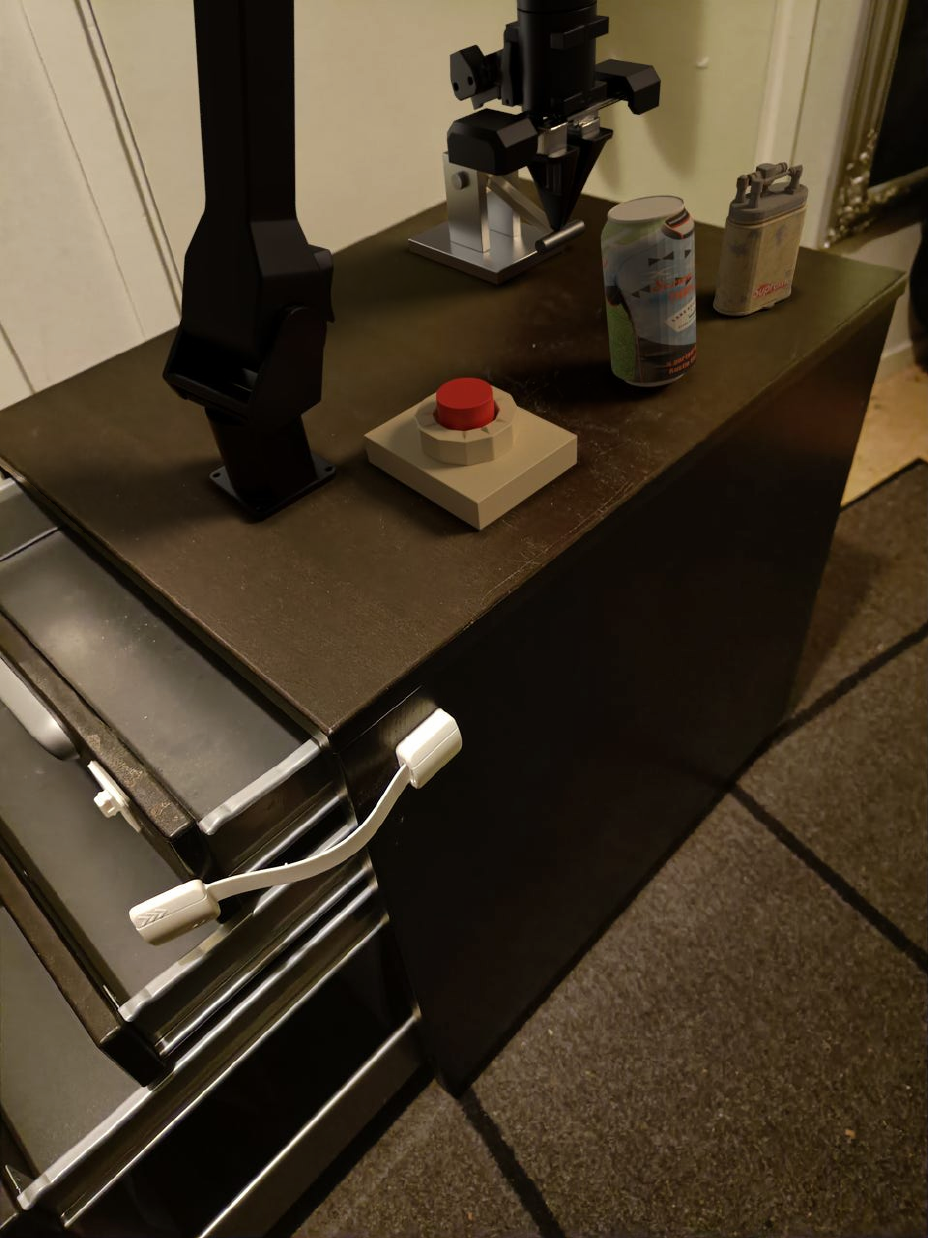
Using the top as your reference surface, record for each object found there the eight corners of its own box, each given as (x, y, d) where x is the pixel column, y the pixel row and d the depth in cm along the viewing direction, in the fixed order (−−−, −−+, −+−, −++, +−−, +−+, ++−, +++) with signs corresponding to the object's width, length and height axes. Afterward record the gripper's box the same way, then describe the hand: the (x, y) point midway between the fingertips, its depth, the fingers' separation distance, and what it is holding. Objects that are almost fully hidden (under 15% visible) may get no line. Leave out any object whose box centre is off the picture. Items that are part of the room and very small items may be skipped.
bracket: (565, 249, 77) (566, 145, 71) (497, 285, 74) (491, 179, 67) (476, 219, 84) (469, 121, 77) (409, 251, 80) (396, 151, 74)
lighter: (767, 279, 70) (791, 149, 63) (802, 295, 68) (831, 162, 60) (703, 306, 68) (720, 175, 61) (737, 323, 66) (759, 189, 58)
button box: (577, 463, 55) (577, 411, 52) (479, 531, 51) (475, 479, 48) (463, 404, 61) (458, 355, 58) (368, 461, 57) (358, 411, 54)
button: (506, 414, 53) (504, 390, 52) (465, 439, 52) (463, 415, 51) (467, 394, 55) (465, 371, 54) (427, 418, 54) (424, 395, 52)
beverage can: (669, 407, 59) (687, 233, 50) (579, 379, 62) (582, 213, 53) (709, 365, 62) (733, 195, 53) (622, 342, 65) (631, 178, 56)
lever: (580, 242, 73) (589, 218, 71) (542, 263, 71) (549, 239, 69) (487, 165, 76) (492, 140, 74) (447, 183, 74) (451, 157, 72)
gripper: (560, -32, 68) (561, 173, 79) (385, 23, 60) (413, 242, 71) (673, -22, 62) (656, 198, 73) (494, 41, 54) (506, 277, 65)
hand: (557, 227), depth 71 cm, fingers closed, pressing on lever
